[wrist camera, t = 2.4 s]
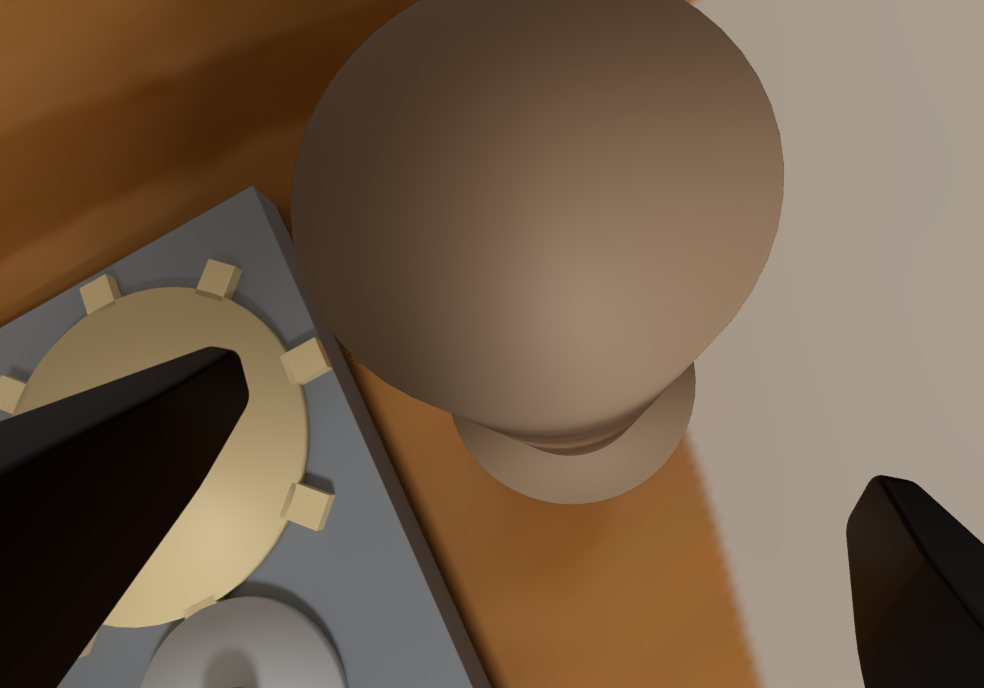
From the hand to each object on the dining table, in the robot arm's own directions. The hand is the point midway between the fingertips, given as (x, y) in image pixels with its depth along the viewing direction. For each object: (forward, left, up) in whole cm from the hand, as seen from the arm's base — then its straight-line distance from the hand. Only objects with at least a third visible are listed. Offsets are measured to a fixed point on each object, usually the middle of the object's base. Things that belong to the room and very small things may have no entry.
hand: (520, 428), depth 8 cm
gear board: (+3, +13, -9) cm, 16 cm away
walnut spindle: (+2, -1, -9) cm, 10 cm away
